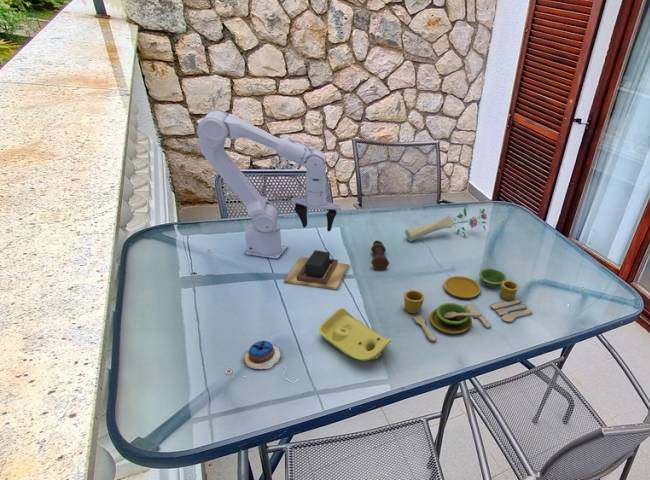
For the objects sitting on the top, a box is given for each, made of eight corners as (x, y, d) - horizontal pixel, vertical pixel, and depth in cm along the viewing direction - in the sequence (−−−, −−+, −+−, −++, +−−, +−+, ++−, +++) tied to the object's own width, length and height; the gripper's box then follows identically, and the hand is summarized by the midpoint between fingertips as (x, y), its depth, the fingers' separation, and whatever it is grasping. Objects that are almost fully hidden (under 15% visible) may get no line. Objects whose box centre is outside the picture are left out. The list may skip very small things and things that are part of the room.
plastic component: (315, 329, 109) (343, 303, 114) (327, 344, 115) (354, 318, 120) (365, 366, 101) (394, 335, 106) (376, 379, 107) (403, 350, 111)
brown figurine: (379, 252, 156) (382, 273, 144) (367, 246, 153) (369, 266, 141) (388, 240, 154) (391, 260, 143) (376, 234, 151) (378, 254, 140)
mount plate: (284, 282, 127) (284, 275, 125) (301, 259, 138) (300, 253, 137) (336, 289, 129) (336, 283, 128) (348, 266, 141) (348, 260, 140)
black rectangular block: (305, 278, 129) (305, 264, 126) (315, 263, 137) (314, 250, 134) (321, 280, 130) (320, 266, 127) (329, 265, 137) (329, 252, 135)
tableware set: (427, 345, 118) (430, 328, 114) (388, 291, 134) (389, 274, 131) (537, 315, 142) (542, 300, 139) (492, 272, 159) (496, 258, 156)
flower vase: (407, 252, 171) (477, 226, 189) (420, 259, 162) (493, 231, 179) (399, 225, 166) (473, 201, 183) (412, 230, 157) (488, 205, 174)
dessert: (248, 343, 103) (262, 330, 101) (274, 355, 106) (287, 342, 105) (236, 368, 97) (250, 355, 95) (264, 380, 100) (278, 367, 98)
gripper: (343, 189, 136) (343, 226, 143) (296, 180, 134) (298, 219, 141) (337, 197, 130) (337, 235, 138) (288, 188, 128) (290, 228, 135)
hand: (317, 228), depth 139 cm, fingers open, 7 cm apart
